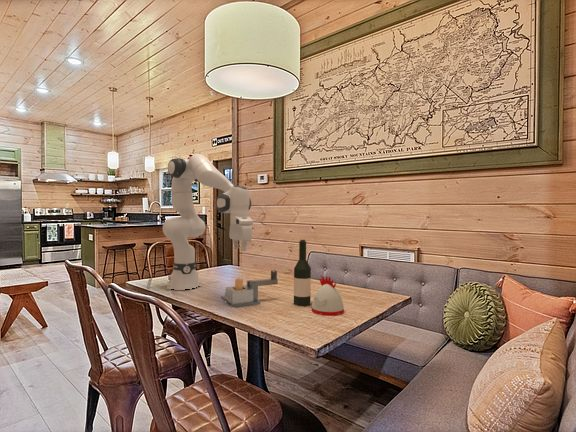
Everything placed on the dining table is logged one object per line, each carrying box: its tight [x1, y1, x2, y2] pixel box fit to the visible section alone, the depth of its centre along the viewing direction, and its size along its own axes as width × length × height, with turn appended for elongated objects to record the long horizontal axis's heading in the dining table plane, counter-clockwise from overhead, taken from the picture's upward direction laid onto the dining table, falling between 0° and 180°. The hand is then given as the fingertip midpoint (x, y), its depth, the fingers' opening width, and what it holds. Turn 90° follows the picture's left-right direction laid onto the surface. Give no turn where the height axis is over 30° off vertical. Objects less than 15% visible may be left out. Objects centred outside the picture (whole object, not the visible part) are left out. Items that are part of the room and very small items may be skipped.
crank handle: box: [248, 269, 279, 287], centre depth 166 cm, size 3×14×6 cm, turn 118°
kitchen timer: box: [311, 275, 345, 317], centre depth 149 cm, size 14×14×15 cm
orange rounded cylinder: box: [234, 278, 244, 290], centre depth 161 cm, size 4×4×10 cm
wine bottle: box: [293, 239, 312, 307], centre depth 160 cm, size 8×8×30 cm
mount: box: [220, 279, 261, 308], centre depth 164 cm, size 18×13×10 cm
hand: (239, 249), depth 160 cm, fingers open, 8 cm apart
